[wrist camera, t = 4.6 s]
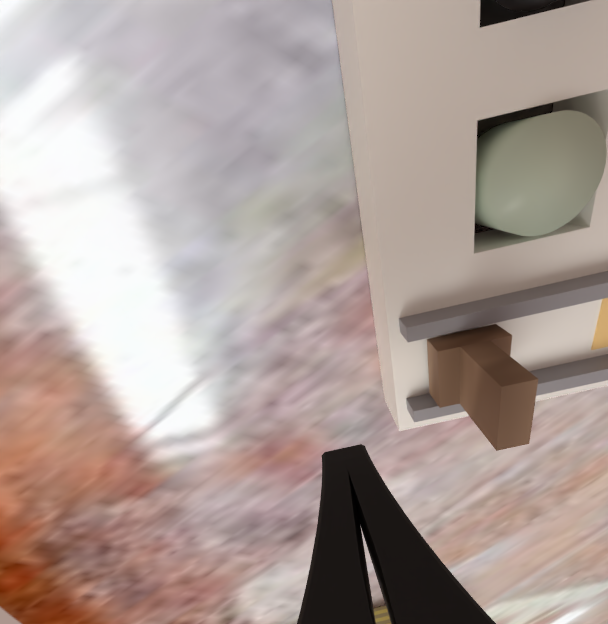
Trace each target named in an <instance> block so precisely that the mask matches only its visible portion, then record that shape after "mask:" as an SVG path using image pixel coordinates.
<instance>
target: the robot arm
mask: <svg viewBox="0 0 608 624" xmlns="http://www.w3.org/2000/svg"><path fill="white" fill-rule="evenodd" d="M360 525H361V526H360ZM361 528H362V531H363V534H364V538H365V541H366V544H367V547H368V550H369V553H370V557H371V560H372V563H373V566H374V569H375V572H376V576H377V579H378V582H379V585H380V588H381V591H382V594H383V598H384V601H385V604H386V607H387V610H388V614H389V617H390V621H391V624H496V623H495V622H494V621H493V620H492V619H491V618H490V617H489V616H488V615H487V614H486V613H485V612H484V610H483V609H482V608H481V607H480V606H479V605H478V604H477V603H476V601H475V600H474V599H473V598H472V597H471V596H470V595H469V593H468V592H467V591H466V590H465V589H464V588H463V586H462V585H461V584H460V583H459V582H458V581H457V579H456V578H455V577H454V576H453V575H452V573H451V572H450V571H449V570H448V569H447V568H446V566H445V565H444V564H443V563H442V561H441V560H440V559H439V558H438V556H437V555H436V554H435V553H434V551H433V550H432V549H431V548H430V546H429V545H428V544H427V543H426V541H425V540H424V539H423V537H422V536H421V535H420V533H419V532H418V531H417V529H416V528H415V527H414V525H413V524H412V523H411V521H410V520H409V518H408V517H407V516H406V514H405V513H404V511H403V510H402V509H401V507H400V506H399V504H398V503H397V501H396V500H395V498H394V497H393V495H392V494H391V492H390V491H389V489H388V488H387V486H386V485H385V483H384V481H383V480H382V478H381V476H380V475H379V473H378V471H377V470H376V468H375V466H374V464H373V462H372V461H371V459H370V457H369V455H368V453H367V450H366V448H365V446H363V445H361V444H360V445H356V446H351V447H347V448H342V449H338V450H333V451H329V452H324V454H323V455H322V489H321V500H320V509H319V517H318V525H317V531H316V537H315V543H314V549H313V554H312V560H311V565H310V570H309V575H308V580H307V585H306V589H305V594H304V598H303V602H302V606H301V611H300V615H299V619H298V622H297V624H376V621H375V616H374V610H373V604H372V597H371V591H370V584H369V578H368V571H367V565H366V558H365V552H364V546H363V539H362V533H361Z"/></svg>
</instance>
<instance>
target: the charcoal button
mask: <svg viewBox="0 0 608 624" xmlns="http://www.w3.org/2000/svg"><path fill="white" fill-rule="evenodd" d="M495 1H496V2H497V3H498V4H500V5H501V6H503V7H505V8H507V9H510V10H513V11H518V12H528V11H534V10H537V9H540V8H543V7H545V6H547V5H549V4H551V3H553V2H554V1H556V0H495Z"/></svg>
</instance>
